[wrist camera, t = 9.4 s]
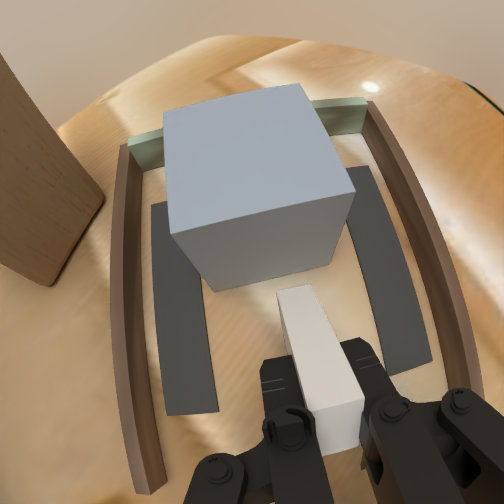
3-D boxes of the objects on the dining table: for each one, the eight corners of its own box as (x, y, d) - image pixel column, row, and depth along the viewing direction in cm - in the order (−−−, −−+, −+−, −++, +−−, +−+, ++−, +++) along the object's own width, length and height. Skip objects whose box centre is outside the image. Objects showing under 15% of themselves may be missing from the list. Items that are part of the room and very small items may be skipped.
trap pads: (168, 415, 17) (167, 415, 17) (152, 206, 24) (151, 204, 24) (431, 361, 17) (432, 360, 17) (367, 166, 23) (368, 165, 23)
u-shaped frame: (154, 480, 15) (132, 495, 12) (133, 166, 26) (118, 141, 23) (463, 415, 15) (490, 418, 12) (366, 124, 25) (373, 96, 22)
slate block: (214, 292, 21) (170, 234, 12) (198, 196, 24) (162, 112, 16) (328, 265, 21) (355, 191, 12) (296, 173, 24) (299, 83, 16)
